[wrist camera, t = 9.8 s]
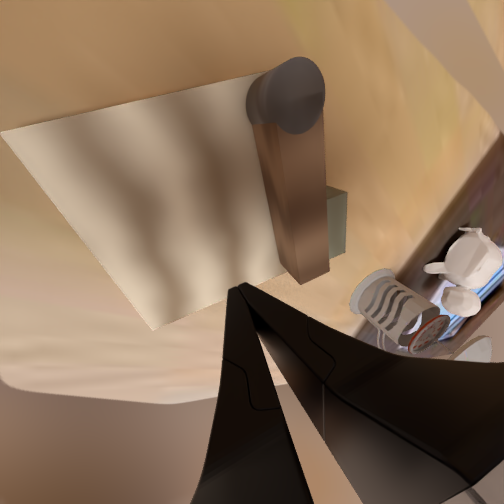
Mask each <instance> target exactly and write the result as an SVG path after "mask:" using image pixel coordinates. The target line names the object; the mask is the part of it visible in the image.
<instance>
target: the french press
mask: <svg viewBox="0 0 504 504" xmlns="http://www.w3.org/2000/svg"><path fill="white" fill-rule="evenodd" d="M397 290H400V294H399V295H398V296H397V297H396V295H397ZM405 291H406V292H405ZM404 296H407V301H406V303H405V304H404V305H403V298H404ZM412 296H414V297H415V298H412ZM398 304H399V308H398V309H397V307H398ZM349 305H350V310H351V311H352V312H353V313H355V314H362V315H363V316H364V317H365V318H366V319H367V320H369V321H370V322H371V323H372V324H373V325H374V326H375V327H376V328H377V329H378V336H377V343H378V348H379V349H381V348H380V346H379V336H380V329H381V330H382V331H383V336H382V345H383V349H384V351H386V349H385V347H384V337H385V334H386V335H388V336H389V337H390V338H391V339H392V340H393V341H394V342H395V343H397V344H398V343H399V344H400V345H401V346H408V351H409V352H410V353H411V354H418V353H419V352H420V353H421V351H424V349H425V348H427V347H429V346H431V344H432V343H435V342H434V341H436V342H438V343H439V344H440V345H442V346H443V347H444V348H446V349H447V350H448V351H449V352H451V353H452V355H451V356H450V358H449V359H448V360H459V361H474V362H490V359H491V354H492V344H491V338H490V337H489V336H478V337H476V338H474V339H472V340H470V341H469V342H467V343H466V344H465V345H463V346H462V347H460V348H459V349H458V350H457V351H456V352H455V353H454V352H452V351H451V350H450V349H448V348H447V347H446V346H444V345H443V344H442V343H440V342H439V341H438V338H440V337H441V335H443V333H444V332H446V330H447V328H448V327H449V324H450V321H451V320H450V317H449V316H448V315H439V314H440V308H439V307H438V306H436V305H435V304H433V303H431V302H430V301H428V300H427V299H425V298H423V297H422V296H420V295H419V294H417V293H415V292H414V291H412V290H411V289H409V288H407V287H406V286H404V285H403V284H401V283H399V282H398V281H396V280H395V275H394V273H393V272H392V270H390V269H385V268H384V269H381V270H378V271H375V272H373V273H372V274H370V275H369V276H367V277H366V278H365V279H364V280H363V281H362V282H361V283H360V284H359V285H358V286H357V288H356V289H355V291H354V292H353V294H352V296H351V300H350V303H349ZM389 312H390V314H389V316H388V317H384V318H382V317H383V316H384V315H385V314H387V313H389ZM421 312H422V322H421V325H420V327H419V328H418V330H417V331H415V332H413V333H411V334H408V335H402V334H401V333H402V332H404V331H407V330H409V329H411V328H413V327H414V325H415V324H416V322H417V318H418V314H420V313H421ZM400 313H401V314H400ZM399 315H400V317H399V320H398V321H396V322H393V323H391V322H392V320H393V319H394V318H396V317H398V316H399ZM410 321H411V322H410ZM409 322H410V324H409V325H407V324H408V323H409ZM393 326H394V327H393ZM445 329H446V330H445ZM432 345H433V344H432ZM427 349H428V348H427ZM425 350H426V349H425Z"/></svg>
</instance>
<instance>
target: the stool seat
mask: <svg viewBox="0 0 504 504" xmlns="http://www.w3.org/2000/svg"><path fill="white" fill-rule="evenodd" d="M269 71H270V70H269ZM267 72H268V71H265V72H261V73H256V74H252V75H247V76H243V77H239V78H234V79H230V80H226V81H221V82H217V83H213V84H208V85H204V86H199V87H195V88H191V89H186V90H182V91H178V92H173V93H169V94H165V95H160V96H156V97H151V98H147V99H143V100H138V101H134V102H130V103H125V104H121V105H116V106H112V107H108V108H103V109H99V110H95V111H90V112H86V113H82V114H77V115H73V116H68V117H64V118H60V119H55V120H51V121H47V122H42V123H38V124H33V125H29V126H25V127H20V128H16V129H12V130H7V131H3V132H0V135H1V136H2V138H3V139H4V140H5V141H6V143H7V144H8V145H9V147H10V148H11V149H12V150H13V152H14V153H15V154H16V156H17V157H18V158H19V159H20V161H21V162H22V163H23V165H24V166H25V167H26V169H27V170H28V171H29V172H30V174H31V175H32V176H33V178H34V179H35V180H36V181H37V183H38V184H39V185H40V187H41V188H42V189H43V190H44V192H45V193H46V194H47V196H48V197H49V198H50V199H51V201H52V202H53V203H54V205H55V206H56V207H57V209H58V210H59V211H60V212H61V214H62V215H63V216H64V218H65V219H66V220H67V221H68V223H69V224H70V225H71V227H72V228H73V229H74V230H75V232H76V233H77V234H78V236H79V237H80V238H81V239H82V241H83V242H84V243H85V245H86V246H87V247H88V249H89V250H90V251H91V252H92V254H93V255H94V256H95V258H96V259H97V260H98V261H99V263H100V264H101V265H102V267H103V268H104V269H105V270H106V272H107V273H108V274H109V276H110V277H111V278H112V279H113V281H114V282H115V283H116V285H117V286H118V287H119V289H120V290H121V291H122V292H123V294H124V295H125V296H126V298H127V299H128V300H129V301H130V303H131V304H132V305H133V307H134V308H135V309H136V310H137V312H138V313H139V314H140V316H141V317H142V318H143V319H144V321H145V322H146V323H147V325H148V326H149V327H150V329H151V330H152V331H153V330H156V329H158V328H160V327H163V326H165V325H167V324H169V323H172V322H174V321H176V320H179V319H181V318H183V317H185V316H188V315H190V314H192V313H194V312H197V311H199V310H201V309H204V308H206V307H208V306H210V305H213V304H215V303H217V302H220V301H222V300H224V299H226V298H227V293H228V289H230V288H232V287H234V286H238V285H239V284H241V283H244V282H247V283H249V284H251V285H253V286H256V285H258V284H261V283H263V282H265V281H267V280H270V279H272V278H274V277H277V276H279V275H281V274H283V273H286V272H288V271H287V270H286V269H285V268H284V267H283V266H282V265H281V264H280V259H279V254H278V250H277V245H276V240H275V235H274V230H273V225H272V220H271V216H270V211H269V206H268V201H267V196H266V191H265V186H264V182H263V177H262V172H261V167H260V162H259V157H258V152H257V148H256V143H255V138H254V133H253V128H252V124H251V123H250V121H249V119H248V116H247V112H246V96H247V93H248V90H249V88H250V86H251V84H252V83H253V82H254V80H255V79H257V78H258V77H260V76H261V75H263V74H265V73H267ZM326 194H327V219H328V243H329V259H331V258H333V257H336V256H338V255H340V254H342V253H345V246H346V217H347V192H345V191H342V190H339V189H336V188H333V187H330V186H326Z"/></svg>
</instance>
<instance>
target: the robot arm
mask: <svg viewBox="0 0 504 504" xmlns="http://www.w3.org/2000/svg"><path fill="white" fill-rule="evenodd" d="M258 336H259V337H258ZM259 338H260V339H261V341H262V343H263V344H264V346H265V347H266V349H267V351H268V352H269V354H270V355H271V357H272V359H273V360H274V362H275V363H276V365H277V367H278V368H279V370H280V371H281V373H282V375H283V376H284V378H285V379H286V381H287V383H288V384H289V386H290V387H291V389H292V390H293V392H294V394H295V395H296V397H297V398H298V400H299V402H300V403H301V405H302V407H303V408H304V410H305V411H306V413H307V414H308V416H309V417H310V419H311V421H312V423H313V424H314V426H315V427H316V429H317V431H318V432H319V434H320V435H321V437H322V438H323V440H324V441H325V443H326V445H327V446H328V448H329V450H330V451H331V453H332V455H333V456H334V458H335V459H336V461H337V463H338V464H339V466H340V467H341V469H342V470H343V472H344V474H345V475H346V477H347V479H348V480H349V482H350V483H351V485H352V487H353V488H354V490H355V491H356V493H357V495H358V496H359V498H360V499H361V501H362V503H363V504H504V362H499V363H492V362H474V361H459V360H445V359H431V358H417V357H407V356H401V355H397V354H393V353H390V352H387V351H384V350H382V349H379V348H377V347H375V346H372V345H370V344H367V343H365V342H363V341H360V340H358V339H356V338H353V337H351V336H348V335H346V334H344V333H342V332H339V331H337V330H335V329H333V328H330V327H328V326H326V325H324V324H323V323H321V322H319V321H317V320H315V319H313V318H311V317H308V316H307V315H306V314H304V313H302V312H300V311H298V310H297V309H295V308H293V307H291V306H289V305H287V304H286V303H284V302H282V301H280V300H278V299H277V298H275V297H273V296H271V295H269V294H267V293H266V292H264V291H262V290H260V289H258V288H256V287H255V286H253V285H251V284H249V283H247V282H244V283H241V284H239V285H238V286H234V287H232V288H230V289H228V293H227V305H226V318H225V331H224V344H223V357H222V358H223V360H222V368H221V378H220V386H219V392H218V398H217V404H216V409H215V414H214V419H213V424H212V429H211V434H210V439H209V444H208V449H207V454H206V458H205V462H204V467H203V470H202V474H201V477H200V480H199V483H198V486H197V488H196V491H195V494H194V496H193V498H192V501H191V503H190V504H314V502H313V499H312V496H311V493H310V490H309V487H308V484H307V482H306V479H305V476H304V473H303V470H302V467H301V464H300V461H299V458H298V455H297V452H296V450H295V447H294V444H293V441H292V438H291V435H290V432H289V429H288V426H287V423H286V420H285V417H284V414H283V411H282V408H281V405H280V402H279V399H278V395H277V392H276V389H275V386H274V383H273V380H272V377H271V374H270V371H269V368H268V365H267V362H266V359H265V356H264V352H263V349H262V346H261V343H260V340H259Z"/></svg>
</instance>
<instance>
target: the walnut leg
mask: <svg viewBox="0 0 504 504" xmlns="http://www.w3.org/2000/svg"><path fill="white" fill-rule="evenodd" d="M324 101H325V84H324V80H323V76H322V74H321V72H320V70H319V68H318V67H317V65H316V64H315V63H314V62H313V61H311V60H310V59H308V58H305V57H294V58H292V59H290V60H288V61H286V62H284V63H283V64H281V65H279V66H277V67H275V68H274V69H272V70H270V71H268V72H267V73H265V74H263V75H261V76H260V77H258V78H257V79H255V80H254V82H253V83H252V84H251V86H250V88H249V90H248V93H247V96H246V112H247V116H248V119H249V121H250V123H251V124H252V128H253V133H254V138H255V143H256V148H257V152H258V157H259V162H260V167H261V172H262V177H263V182H264V186H265V191H266V196H267V201H268V206H269V211H270V216H271V220H272V225H273V230H274V235H275V240H276V245H277V250H278V254H279V259H280V264H281V265H282V266H283V267H284V268H285V269H286V270H287V271H288V272H289V273H290V274H291V275H292V277H293V278H294V279H295V280H296V281H297V282H298V283H299V284H300V285H302V284H304V283H306V282H308V281H310V280H312V279H315V278H317V277H319V276H321V275H323V274H325V273H327V272H329V271H330V267H329V243H328V219H327V194H326V170H325V146H324V121H323V106H324Z"/></svg>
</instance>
